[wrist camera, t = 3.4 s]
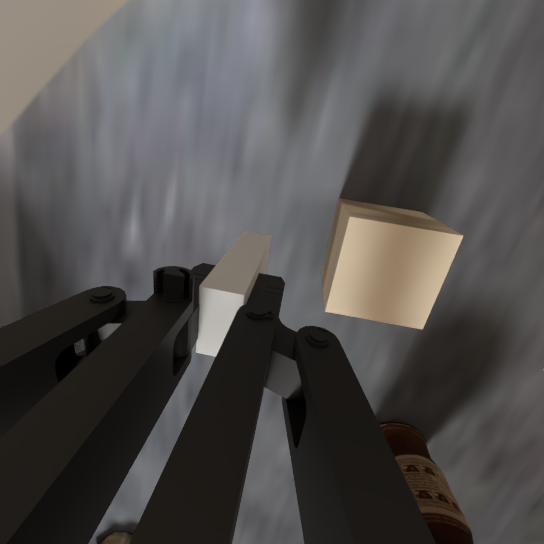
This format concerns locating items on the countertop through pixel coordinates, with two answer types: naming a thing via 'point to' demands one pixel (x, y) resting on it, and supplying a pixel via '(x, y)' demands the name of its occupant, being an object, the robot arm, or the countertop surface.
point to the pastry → (118, 538)
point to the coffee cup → (427, 485)
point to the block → (386, 263)
